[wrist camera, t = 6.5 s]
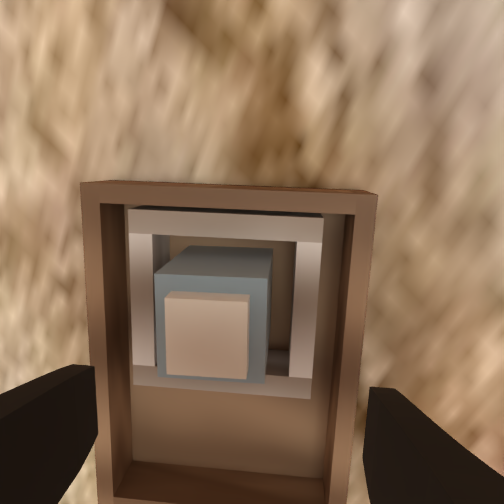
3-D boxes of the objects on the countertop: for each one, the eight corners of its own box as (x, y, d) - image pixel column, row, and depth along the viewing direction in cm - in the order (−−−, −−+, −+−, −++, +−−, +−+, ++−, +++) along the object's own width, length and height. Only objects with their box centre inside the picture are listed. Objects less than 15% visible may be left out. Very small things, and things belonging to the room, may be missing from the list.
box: (335, 485, 22) (343, 535, 19) (122, 464, 23) (98, 509, 20) (363, 190, 18) (378, 194, 15) (111, 180, 19) (79, 182, 16)
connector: (272, 248, 19) (266, 285, 13) (270, 327, 20) (263, 396, 14) (189, 245, 19) (146, 279, 13) (190, 323, 20) (150, 388, 14)
